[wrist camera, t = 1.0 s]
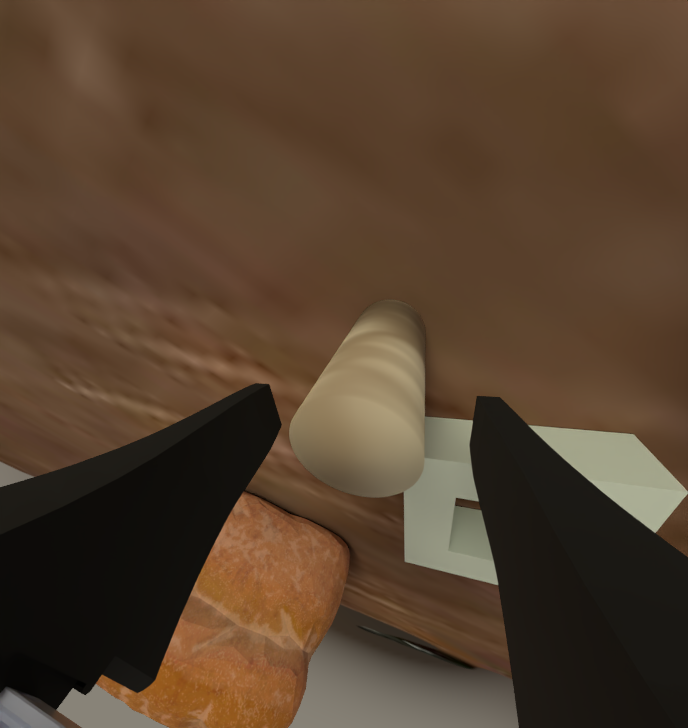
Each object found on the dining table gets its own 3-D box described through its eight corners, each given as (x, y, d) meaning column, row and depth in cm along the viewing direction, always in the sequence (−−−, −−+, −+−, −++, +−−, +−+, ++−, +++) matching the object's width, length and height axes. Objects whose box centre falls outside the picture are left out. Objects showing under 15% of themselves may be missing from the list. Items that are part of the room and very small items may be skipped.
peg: (426, 297, 13) (427, 402, 6) (424, 364, 15) (422, 507, 8) (353, 301, 14) (275, 391, 7) (359, 362, 16) (303, 485, 9)
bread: (333, 578, 34) (278, 788, 22) (165, 496, 36) (27, 645, 24) (365, 537, 27) (311, 820, 14) (153, 437, 29) (-58, 609, 16)
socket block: (633, 434, 14) (688, 492, 11) (568, 550, 19) (592, 608, 17) (407, 414, 17) (403, 455, 14) (407, 517, 23) (404, 561, 20)
